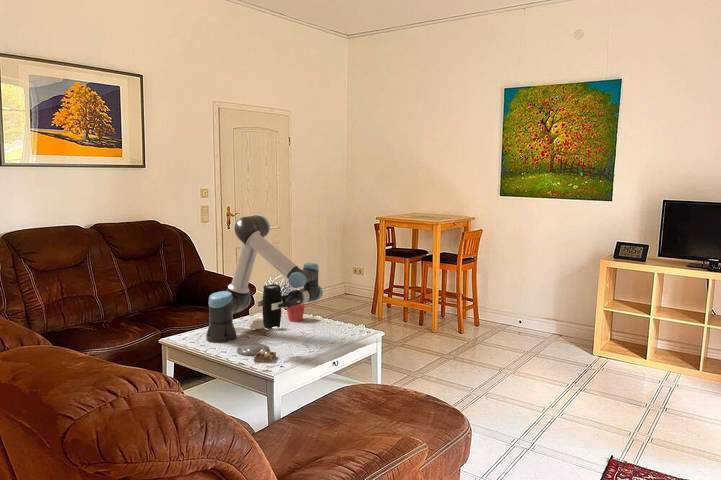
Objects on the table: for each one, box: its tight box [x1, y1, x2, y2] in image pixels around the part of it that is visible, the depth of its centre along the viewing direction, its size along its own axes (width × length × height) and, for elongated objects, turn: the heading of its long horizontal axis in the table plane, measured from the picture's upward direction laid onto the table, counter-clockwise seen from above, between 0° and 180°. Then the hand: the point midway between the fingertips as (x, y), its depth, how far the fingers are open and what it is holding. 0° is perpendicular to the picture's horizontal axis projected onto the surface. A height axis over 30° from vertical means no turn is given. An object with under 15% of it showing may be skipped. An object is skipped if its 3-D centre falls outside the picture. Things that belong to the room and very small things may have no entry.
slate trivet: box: [236, 343, 270, 357], centre depth 264 cm, size 15×15×1 cm
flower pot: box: [285, 303, 306, 323], centre depth 320 cm, size 11×11×10 cm
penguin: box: [249, 315, 265, 331], centre depth 302 cm, size 9×8×15 cm
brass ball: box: [264, 351, 271, 357], centre depth 250 cm, size 3×3×3 cm
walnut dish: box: [253, 351, 277, 363], centre depth 252 cm, size 8×8×2 cm
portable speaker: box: [262, 283, 282, 330], centre depth 257 cm, size 9×9×20 cm
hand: (264, 305), depth 253 cm, fingers closed on portable speaker, 9 cm apart
